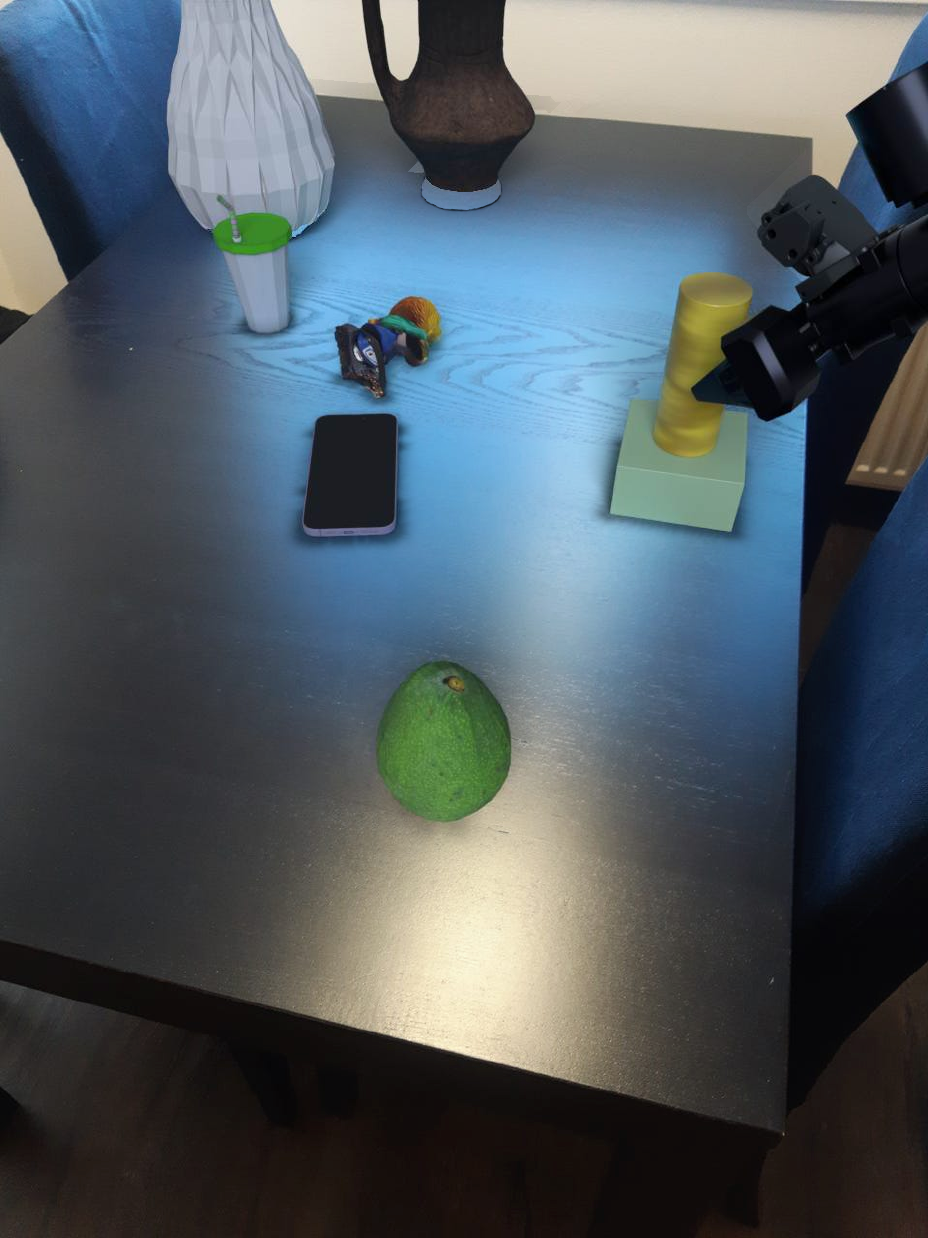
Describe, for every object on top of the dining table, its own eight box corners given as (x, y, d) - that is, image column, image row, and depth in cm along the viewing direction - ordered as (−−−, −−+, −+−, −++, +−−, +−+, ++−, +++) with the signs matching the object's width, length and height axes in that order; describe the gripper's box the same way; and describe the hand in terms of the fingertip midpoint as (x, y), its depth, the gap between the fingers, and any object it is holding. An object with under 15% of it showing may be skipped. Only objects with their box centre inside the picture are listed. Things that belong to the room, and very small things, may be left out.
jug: (530, 168, 126) (543, -101, 104) (532, 223, 113) (546, -70, 91) (383, 167, 127) (365, -100, 105) (368, 221, 114) (344, -69, 92)
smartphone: (299, 530, 71) (314, 414, 82) (301, 541, 72) (316, 425, 83) (396, 527, 72) (398, 412, 82) (397, 538, 72) (399, 423, 83)
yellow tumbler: (729, 444, 72) (769, 293, 63) (680, 464, 70) (713, 312, 61) (687, 413, 75) (719, 265, 66) (639, 432, 74) (664, 282, 64)
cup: (283, 298, 100) (260, 158, 89) (318, 326, 96) (298, 182, 85) (220, 319, 97) (188, 176, 86) (253, 349, 93) (223, 202, 82)
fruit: (426, 874, 52) (417, 758, 43) (359, 779, 56) (339, 656, 48) (533, 807, 55) (544, 686, 46) (461, 722, 59) (460, 597, 51)
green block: (735, 460, 79) (748, 412, 75) (731, 532, 72) (745, 484, 69) (623, 444, 81) (631, 397, 77) (609, 513, 74) (616, 465, 70)
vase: (210, 193, 120) (152, -85, 98) (355, 198, 119) (329, -83, 97) (162, 260, 107) (82, -46, 85) (325, 266, 105) (287, -43, 83)
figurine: (422, 335, 94) (419, 278, 90) (465, 364, 90) (465, 307, 86) (331, 371, 90) (323, 314, 85) (373, 404, 86) (366, 345, 81)
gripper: (930, 106, 57) (740, 231, 70) (788, 194, 47) (600, 319, 60) (1002, 263, 59) (805, 356, 72) (881, 377, 49) (679, 459, 62)
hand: (727, 368), depth 67 cm, fingers open, 9 cm apart
